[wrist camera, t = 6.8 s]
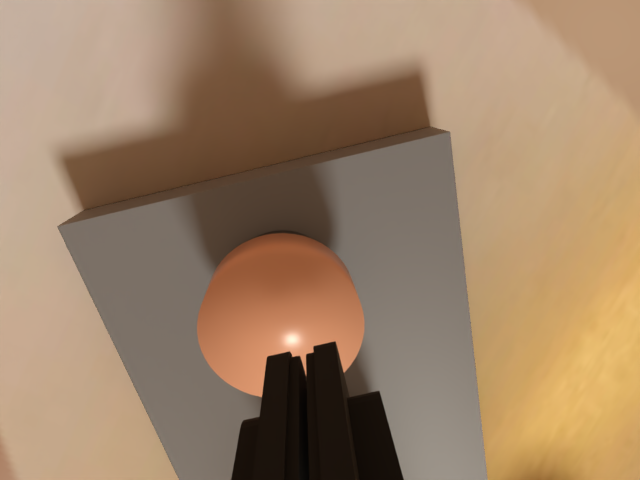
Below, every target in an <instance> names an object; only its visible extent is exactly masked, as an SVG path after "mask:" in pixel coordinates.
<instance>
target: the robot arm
mask: <svg viewBox="0 0 640 480" xmlns="http://www.w3.org/2000/svg"><path fill="white" fill-rule="evenodd" d="M313 351H314V352H313V353H308V354H306V374H305V370H304V367H303V363H302V360H301V357H300V356H295V357H292V354H291V352H290V351H289V352H284V353H280V354H275V355H271V356H268V357H267V360H266V368H265V376H264V384H263V393H262V401H261V409H260V417H256V418H251V419H246V420H243V422H242V423H241V427H240V432H239V438H238V443H237V449H236V455H235V461H234V466H233V472H232V478H231V480H404V479H403V475H402V471H401V468H400V464H399V460H398V457H397V453H396V449H395V446H394V442H393V438H392V435H391V431H390V427H389V423H388V420H387V416H386V412H385V409H384V405H383V401H382V398H381V394H380V391H375V392H371V393H366V394H361V395H357V396H352V397H350V396H349V392H348V388H347V384H346V380H345V376H344V372H343V368H342V364H341V360H340V356H339V352H338V348H337V344H336V341H334V342H330V343H325V344H321V345H316V346H314V347H313Z"/></svg>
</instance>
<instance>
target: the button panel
mask: <svg viewBox="0 0 640 480" xmlns="http://www.w3.org/2000/svg"><path fill="white" fill-rule="evenodd" d="M57 227H58V229H59V231H60V233H61V235H62V237H63V239H64V242H65V244H66V246H67V248H68V250H69V252H70V254H71V256H72V258H73V260H74V262H75V264H76V266H77V269H78V271H79V273H80V275H81V277H82V279H83V281H84V283H85V285H86V287H87V289H88V291H89V293H90V296H91V298H92V300H93V302H94V304H95V306H96V308H97V310H98V312H99V314H100V316H101V318H102V320H103V323H104V325H105V327H106V329H107V331H108V333H109V335H110V337H111V339H112V341H113V343H114V345H115V347H116V350H117V352H118V354H119V356H120V358H121V360H122V362H123V364H124V366H125V368H126V370H127V372H128V374H129V377H130V379H131V381H132V383H133V385H134V387H135V389H136V391H137V393H138V395H139V397H140V399H141V401H142V404H143V406H144V408H145V410H146V412H147V414H148V416H149V418H150V420H151V422H152V424H153V426H154V428H155V431H156V433H157V435H158V437H159V439H160V441H161V443H162V445H163V447H164V449H165V451H166V453H167V455H168V458H169V460H170V462H171V464H172V466H173V468H174V470H175V472H176V474H177V476H178V478H179V480H231V478H232V472H233V466H234V461H235V455H236V449H237V443H238V438H239V432H240V427H241V423H242V422H243V420H246V419H251V418H256V417H260V409H261V401H262V397H259V396H255V395H251V394H248V393H245V392H243V391H240V390H239V389H237V388H235V387H233V386H231V385H230V384H228V383H227V382H225V381H224V380H223V379H222V378H220V377H219V376H218V375H217V374H216V373H215V372H214V371H213V369H212V368H211V367H210V366H209V364H208V363H207V361H206V360H205V358H204V356H203V353H202V351H201V348H200V345H199V342H198V335H197V320H198V314H199V311H200V307H201V304H202V302H203V299H204V296H205V294H206V291H207V289H208V286H209V283H210V281H211V278H212V276H213V274H214V272H215V270H216V268H217V267H218V265H219V264H220V262H221V261H222V260H223V259H224V258H225V257H226V255H227V254H228V253H230V252H231V251H232V250H233V249H235V248H236V247H238V246H239V245H241V244H242V243H244V242H246V241H248V240H251V239H253V238H256V237H259V236H263V235H268V234H276V233H288V234H297V235H302V236H305V237H308V238H311V239H314V240H316V241H318V242H320V243H322V244H323V245H325V246H326V247H328V248H330V249H331V250H332V251H333V252H334V253H335V254H336V255H337V256H338V257H339V258H340V259H341V260H342V261H343V263H344V264H345V266H346V267H347V269H348V271H349V273H350V275H351V278H352V280H353V283H354V286H355V289H356V292H357V294H358V297H359V300H360V303H361V306H362V310H363V314H364V336H363V341H362V344H361V347H360V350H359V352H358V354H357V356H356V358H355V359H354V361H353V362H352V364H351V365H350V367H349V368H348V369H347V370H346V371H345V372H344V376H345V380H346V384H347V388H348V392H349V396H350V397H352V396H357V395H361V394H366V393H371V392H375V391H380V394H381V398H382V401H383V405H384V409H385V412H386V416H387V420H388V423H389V427H390V431H391V435H392V438H393V442H394V446H395V449H396V453H397V457H398V460H399V464H400V468H401V471H402V475H403V479H404V480H488V479H487V470H486V461H485V451H484V442H483V433H482V424H481V414H480V405H479V396H478V387H477V377H476V368H475V359H474V350H473V341H472V331H471V322H470V313H469V304H468V294H467V285H466V276H465V267H464V257H463V248H462V239H461V230H460V220H459V211H458V202H457V193H456V183H455V174H454V165H453V156H452V146H451V137H450V132H449V131H445V130H441V129H437V128H433V127H428V128H424V129H420V130H416V131H411V132H407V133H403V134H399V135H395V136H391V137H387V138H382V139H378V140H374V141H370V142H366V143H362V144H358V145H353V146H349V147H345V148H341V149H337V150H333V151H328V152H324V153H320V154H316V155H312V156H308V157H304V158H299V159H295V160H291V161H287V162H283V163H279V164H275V165H270V166H266V167H262V168H258V169H254V170H250V171H245V172H241V173H237V174H233V175H229V176H225V177H221V178H216V179H212V180H208V181H204V182H200V183H196V184H192V185H187V186H183V187H179V188H175V189H171V190H167V191H163V192H158V193H154V194H150V195H146V196H142V197H138V198H133V199H129V200H125V201H121V202H117V203H113V204H109V205H104V206H100V207H96V208H92V209H88V210H84V211H82V212H80V213H79V214H77V215H75V216H74V217H72V218H70V219H69V220H67V221H65V222H64V223H62V224H60V225H59V226H57Z"/></svg>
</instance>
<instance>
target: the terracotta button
mask: <svg viewBox="0 0 640 480" xmlns="http://www.w3.org/2000/svg"><path fill="white" fill-rule="evenodd" d="M197 335H198V342H199V345H200V348H201V351H202V353H203V356H204V358H205V360H206V361H207V363H208V364H209V366H210V367H211V368H212V369H213V371H214V372H215V373H216V374H217V375H218V376H219V377H220V378H222V379H223V380H224V381H225V382H227V383H228V384H230V385H231V386H233V387H235V388H237V389H239V390H240V391H243V392H245V393H248V394H251V395H255V396H259V397H262V393H263V384H264V376H265V368H266V360H267V357H268V356H271V355H275V354H280V353H284V352H289V351H290V352H291V354H292V357H295V356H300V357H301V360H302V363H303V367H304V370H305V374H306V354H308V353H313V352H314V351H313V347H314V346H316V345H321V344H325V343H330V342H334V341H336V344H337V348H338V352H339V356H340V360H341V364H342V368H343V372H345V371H346V370H347V369H348V368H349V367H350V365H351V364H352V362H353V361H354V359H355V358H356V356H357V354H358V352H359V350H360V347H361V344H362V341H363V336H364V314H363V310H362V306H361V303H360V300H359V297H358V294H357V292H356V289H355V286H354V283H353V280H352V278H351V275H350V273H349V271H348V269H347V267H346V266H345V264H344V263H343V261H342V260H341V259H340V258H339V257H338V256H337V255H336V254H335V253H334V252H333V251H332V250H331V249H330V248H328V247H326V246H325V245H323V244H322V243H320V242H318V241H316V240H314V239H311V238H308V237H305V236H302V235H297V234H288V233H276V234H268V235H263V236H259V237H256V238H253V239H251V240H248V241H246V242H244V243H242V244H241V245H239V246H238V247H236V248H235V249H233V250H232V251H231V252H230V253H228V254H227V255H226V257H225V258H224V259H223V260H222V261H221V262H220V264H219V265H218V267H217V268H216V270H215V272H214V274H213V276H212V278H211V281H210V283H209V286H208V289H207V291H206V294H205V296H204V299H203V302H202V304H201V307H200V311H199V314H198V320H197Z"/></svg>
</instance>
